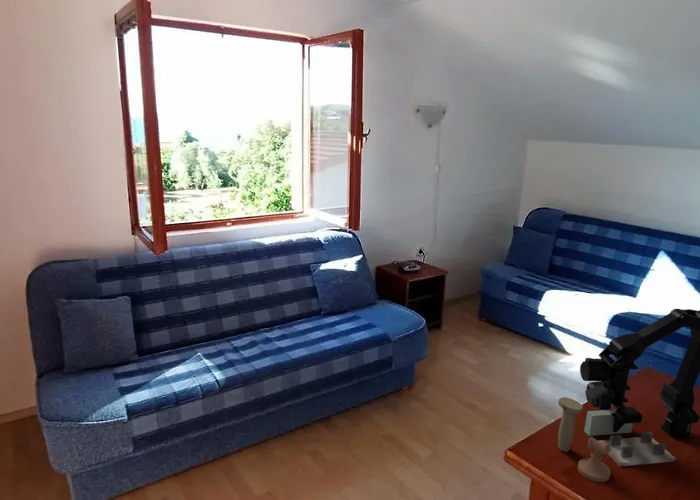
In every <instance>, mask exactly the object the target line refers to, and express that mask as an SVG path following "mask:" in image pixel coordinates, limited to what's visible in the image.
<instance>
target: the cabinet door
mask: <svg viewBox="0 0 700 500" xmlns="http://www.w3.org/2000/svg"><path fill="white" fill-rule="evenodd" d="M616 410H617V408H615V409H610V410H599V409H598V410H589V411H586V412H587V413H586V419H585V424H584V433H586V435H587V436H588V437H595V436H603V435H604V436H605V435H606V436H607V435H621V434H628V433H629V434H630V433H632V431H633V430H632V429H633V424H634V423H629V424H624V425H623V426H622V427H621V428H620V429H619V430H618V431H617V432H613V422H614V417H613V416H612V415H611V413H615V412H616Z"/></svg>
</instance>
